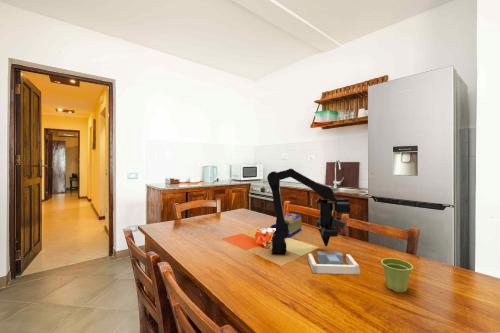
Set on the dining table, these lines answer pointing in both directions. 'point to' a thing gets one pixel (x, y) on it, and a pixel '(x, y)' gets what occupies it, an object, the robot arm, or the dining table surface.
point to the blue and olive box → (292, 223)
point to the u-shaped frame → (335, 266)
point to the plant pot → (396, 274)
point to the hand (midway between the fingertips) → (326, 245)
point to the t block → (330, 258)
